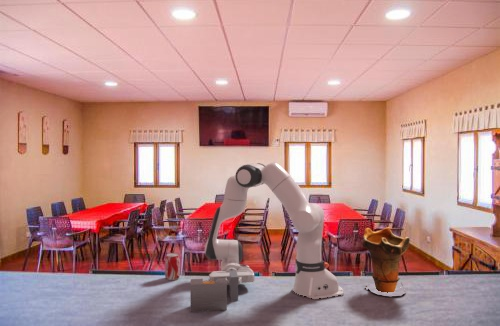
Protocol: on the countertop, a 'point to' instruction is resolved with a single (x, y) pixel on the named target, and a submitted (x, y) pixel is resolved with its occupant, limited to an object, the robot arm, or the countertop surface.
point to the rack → (208, 295)
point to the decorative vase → (385, 256)
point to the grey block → (233, 286)
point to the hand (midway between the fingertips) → (233, 283)
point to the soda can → (172, 266)
